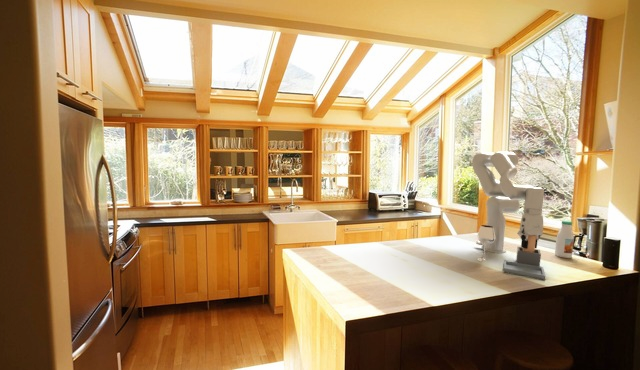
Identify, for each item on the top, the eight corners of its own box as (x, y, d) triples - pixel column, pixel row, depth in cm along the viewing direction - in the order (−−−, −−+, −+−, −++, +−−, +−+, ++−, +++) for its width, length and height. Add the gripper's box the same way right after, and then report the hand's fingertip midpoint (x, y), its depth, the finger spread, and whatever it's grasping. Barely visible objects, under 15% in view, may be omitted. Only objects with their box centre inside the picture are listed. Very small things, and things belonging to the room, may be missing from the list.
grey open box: (516, 265, 161) (517, 250, 161) (516, 260, 170) (517, 246, 169) (539, 269, 156) (540, 254, 156) (538, 264, 165) (539, 249, 164)
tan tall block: (521, 263, 162) (524, 234, 161) (521, 261, 167) (524, 232, 165) (533, 266, 160) (536, 236, 158) (532, 263, 164) (535, 234, 163)
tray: (503, 272, 150) (503, 267, 150) (504, 264, 162) (504, 260, 162) (545, 280, 142) (545, 275, 142) (542, 271, 154) (543, 267, 154)
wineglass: (492, 259, 169) (495, 225, 167) (493, 264, 161) (496, 228, 160) (475, 257, 172) (478, 223, 171) (475, 261, 165) (478, 226, 163)
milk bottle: (557, 257, 180) (560, 221, 178) (552, 253, 187) (556, 219, 185) (573, 259, 177) (578, 223, 175) (569, 255, 184) (573, 220, 182)
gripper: (525, 213, 155) (521, 250, 157) (553, 213, 159) (549, 249, 161) (512, 210, 162) (508, 246, 164) (539, 210, 166) (535, 245, 168)
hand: (528, 247), depth 162 cm, fingers closed on tan tall block, 5 cm apart
